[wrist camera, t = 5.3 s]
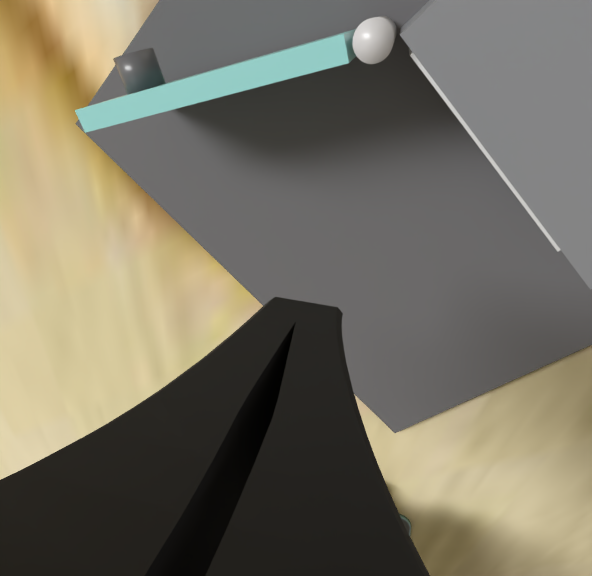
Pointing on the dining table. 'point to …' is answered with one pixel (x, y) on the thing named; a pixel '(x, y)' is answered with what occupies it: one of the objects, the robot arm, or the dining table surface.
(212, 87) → the side door
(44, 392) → the dining table surface
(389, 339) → the mat
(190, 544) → the robot arm
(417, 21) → the housing
